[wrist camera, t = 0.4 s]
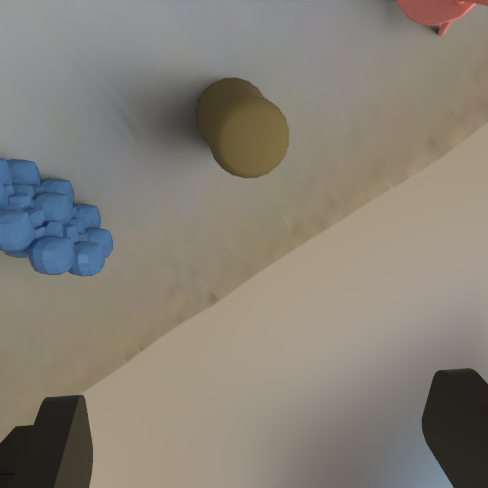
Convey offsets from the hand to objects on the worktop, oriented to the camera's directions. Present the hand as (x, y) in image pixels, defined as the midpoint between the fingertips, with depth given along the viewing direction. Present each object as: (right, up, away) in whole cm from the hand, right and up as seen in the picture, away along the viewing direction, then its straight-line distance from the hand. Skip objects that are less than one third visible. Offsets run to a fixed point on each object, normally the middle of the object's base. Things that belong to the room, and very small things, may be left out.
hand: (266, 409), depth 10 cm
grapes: (-17, +8, +27) cm, 33 cm away
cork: (-1, +15, +26) cm, 30 cm away
